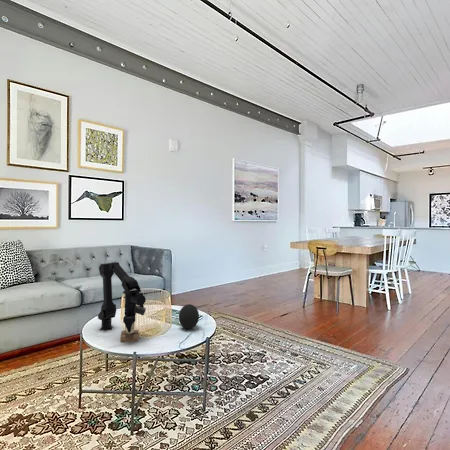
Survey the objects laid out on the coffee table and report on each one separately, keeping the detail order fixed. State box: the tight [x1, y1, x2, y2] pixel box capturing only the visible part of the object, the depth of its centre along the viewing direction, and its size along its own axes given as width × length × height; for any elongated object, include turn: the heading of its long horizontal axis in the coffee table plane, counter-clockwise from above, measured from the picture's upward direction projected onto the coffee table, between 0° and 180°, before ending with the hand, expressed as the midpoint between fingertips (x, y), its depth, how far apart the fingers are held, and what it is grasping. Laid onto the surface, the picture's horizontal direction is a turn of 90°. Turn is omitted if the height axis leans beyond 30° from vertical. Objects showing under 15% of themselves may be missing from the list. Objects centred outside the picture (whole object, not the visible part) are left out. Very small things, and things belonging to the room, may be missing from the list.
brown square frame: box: [119, 329, 140, 343], centre depth 182 cm, size 9×9×3 cm
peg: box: [124, 321, 136, 335], centre depth 182 cm, size 5×5×9 cm
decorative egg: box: [178, 303, 200, 330], centre depth 200 cm, size 12×12×15 cm
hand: (129, 329), depth 182 cm, fingers open, 7 cm apart
